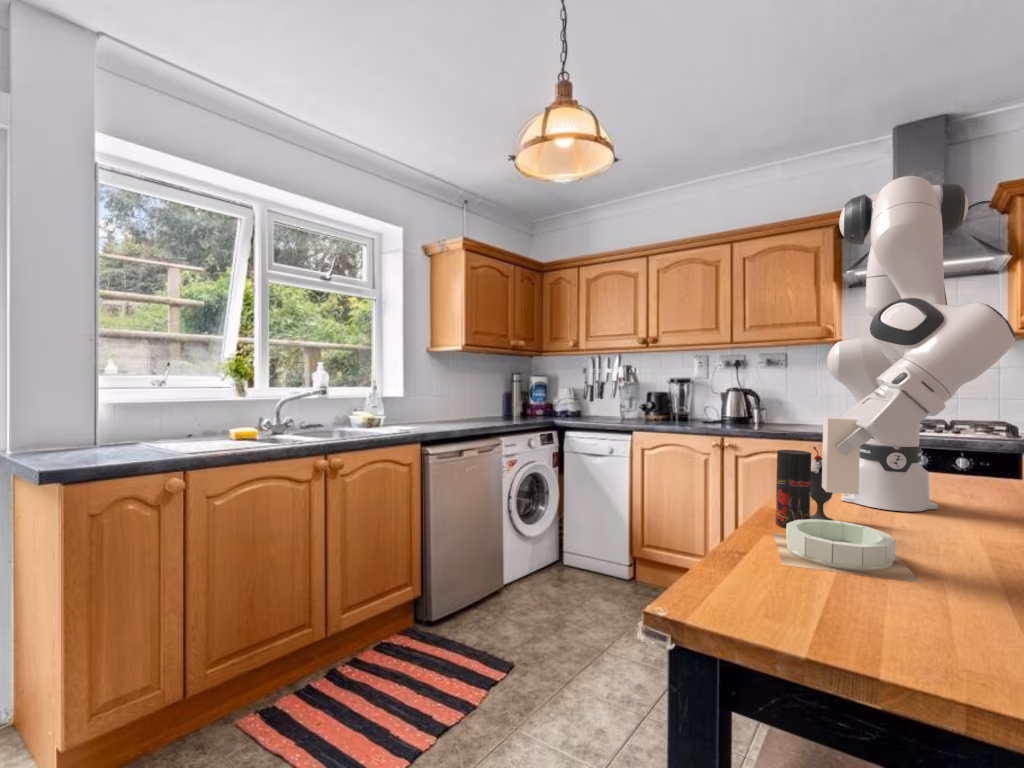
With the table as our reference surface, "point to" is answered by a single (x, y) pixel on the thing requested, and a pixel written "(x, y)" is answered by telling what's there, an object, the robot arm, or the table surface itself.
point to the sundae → (818, 488)
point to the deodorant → (793, 486)
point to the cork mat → (895, 572)
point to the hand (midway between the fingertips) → (835, 448)
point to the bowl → (840, 545)
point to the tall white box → (839, 457)
